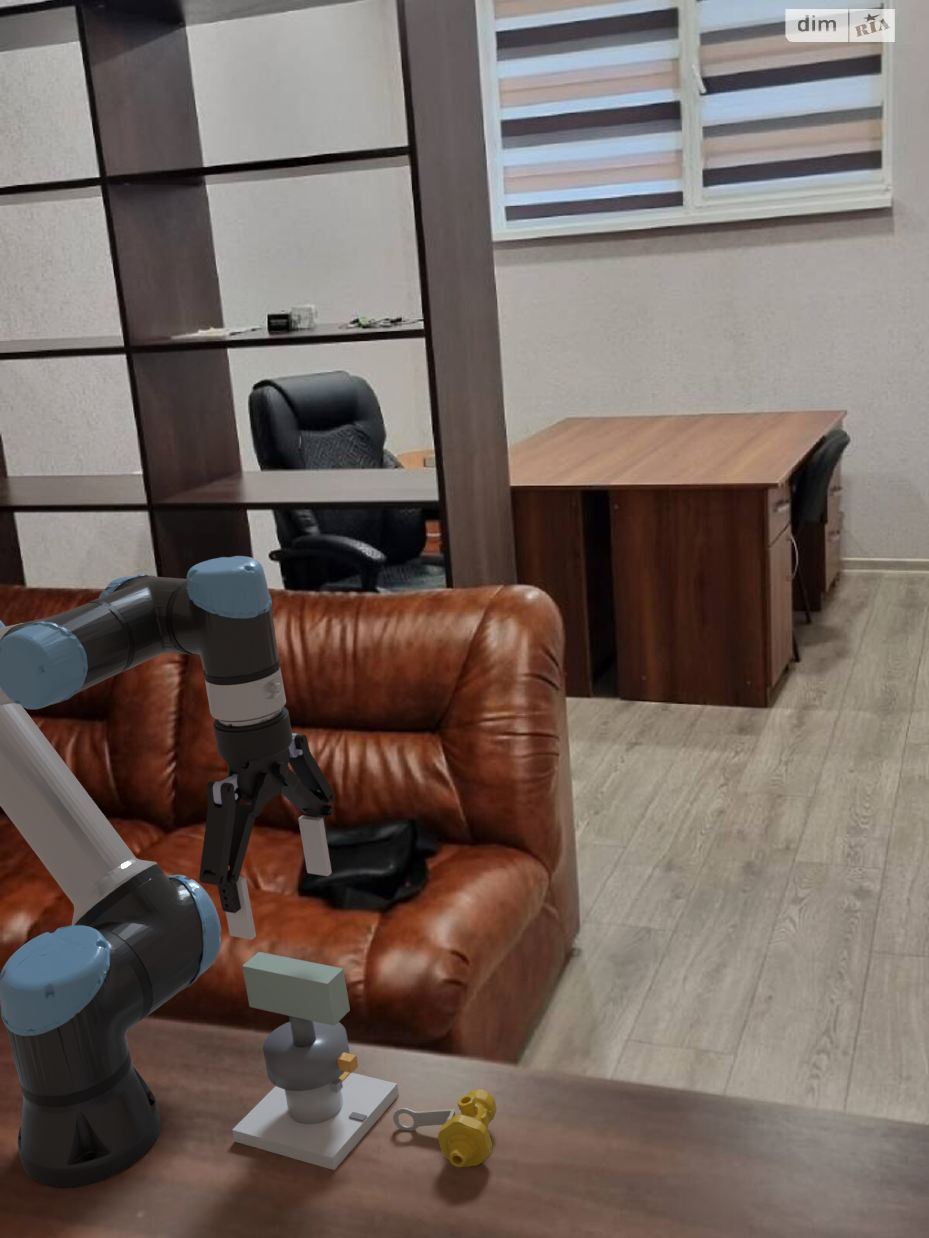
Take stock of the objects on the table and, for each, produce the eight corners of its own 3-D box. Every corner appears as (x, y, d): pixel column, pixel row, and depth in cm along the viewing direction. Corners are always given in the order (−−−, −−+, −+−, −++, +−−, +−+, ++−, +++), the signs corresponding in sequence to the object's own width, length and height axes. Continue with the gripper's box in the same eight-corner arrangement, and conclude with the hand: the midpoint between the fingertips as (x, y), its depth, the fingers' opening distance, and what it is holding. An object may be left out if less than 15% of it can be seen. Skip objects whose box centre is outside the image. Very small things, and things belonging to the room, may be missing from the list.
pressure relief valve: (512, 1117, 145) (488, 1182, 136) (409, 1124, 149) (379, 1187, 140) (498, 1072, 143) (473, 1135, 134) (395, 1081, 147) (364, 1142, 138)
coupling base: (234, 1141, 147) (224, 1089, 145) (303, 1071, 157) (294, 1022, 155) (334, 1170, 140) (325, 1116, 138) (398, 1094, 151) (391, 1044, 149)
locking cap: (243, 1078, 146) (224, 980, 142) (291, 1031, 153) (275, 937, 150) (332, 1101, 140) (315, 1000, 137) (378, 1051, 148) (363, 954, 144)
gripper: (199, 765, 123) (238, 971, 129) (349, 672, 143) (376, 853, 150) (137, 758, 127) (177, 958, 133) (291, 668, 147) (320, 845, 153)
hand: (282, 903), depth 141 cm, fingers open, 13 cm apart
